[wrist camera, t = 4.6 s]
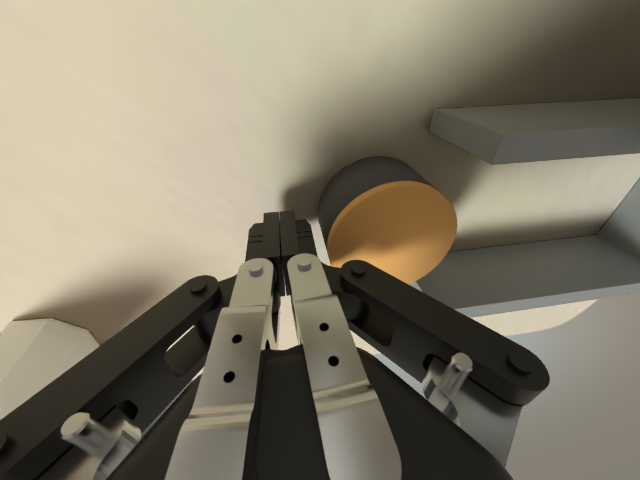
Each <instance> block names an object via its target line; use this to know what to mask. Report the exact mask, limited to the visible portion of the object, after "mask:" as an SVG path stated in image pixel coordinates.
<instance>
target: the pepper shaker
mask: <svg viewBox="0 0 640 480" xmlns="http://www.w3.org/2000/svg"><path fill="white" fill-rule="evenodd" d="M99 346H100V345H99V344H98V342H97V341H96V340H95V339H94V337H93V336H92V335H91V333H90V332H89V331H88V330H87V329H84V328H80V327H77V326H74V325H71V324H68V323H65V322H62V321H58V320H55V319H52V318H47V319H34V320H20V321H12V322H9V323H8V325H7V326H6V327H5V328H4V330H3V331H2V332H1V334H0V420H1V419H2V418H4V417H5V416H6V415H8V414H9V413H10V412H12V411H13V410H14V409H16V408H17V407H19V406H20V405H21V404H23V403H24V402H25V401H27V400H28V399H29V398H31V397H32V396H33V395H35V394H36V393H37V392H39V391H40V390H41V389H43V388H44V387H45V386H47V385H48V384H50V383H51V382H52V381H54V380H55V379H56V378H58V377H59V376H60V375H62V374H63V373H64V372H66V371H67V370H68V369H70V368H71V367H72V366H74V365H75V364H76V363H78V362H79V361H80V360H82V359H83V358H85V357H86V356H87V355H89V354H90V353H91V352H93V351H94V350H95V349H97V348H98V347H99Z"/></svg>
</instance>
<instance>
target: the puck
mask: <svg viewBox="0 0 640 480" xmlns="http://www.w3.org/2000/svg"><path fill="white" fill-rule="evenodd" d="M318 219H319V223H320V227H321V231H322V234H323V238H324V242H325V246H326V249H327V253H328V257H329V260H330V264H331V266H332V267H339V268H341V267H342V265H343V264H344V263H346V262H348V261H350V260H363V261H366V262H368V263H370V264H372V265H374V266H375V267H377V268H379V269H381V270H383V271H385V272H386V273H388V274H390V275H392V276H394V277H396V278H397V279H399V280H401V281H403V282H405V283H407V284H408V285H409V284H411V283H413V282H415V281H417V280H419V279H420V278H422V277H423V276H425V275H426V274H428V273H429V272H430V271H432V270H433V269H434V268H435V267H436V266H437V265H438V264H439V263H440V262H441V261H442V260H443V258H444V257H445V256H446V254H447V253H448V251H449V250H450V248H451V246H452V244H453V242H454V239H455V236H456V231H457V217H456V213H455V210H454V208H453V206H452V205H451V203H450V202H449V200H448V199H447V198H446V197H445V196H443V195H442V194H441V193H440V192H439V191H438V190H436V189H435V188H434V187H433V186H432V185H430V184H429V183H428V182H427V181H426V180H425V179H423V178H422V177H421V176H420V175H419V174H418V173H416V172H415V171H414V170H413V169H412V168H410V167H409V166H408V165H407V164H405V163H404V162H402V161H400V160H398V159H394V158H391V157H384V156H382V157H369V158H365V159H361V160H359V161H356V162H354V163H352V164H350V165H348V166H346V167H345V168H344V169H342V170H341V171H340V172H338V173H337V174H336V175H335V176H334V177H333V178H332V179H331V181H330V182H329V183H328V185H327V186H326V188H325V189H324V191H323V193H322V196H321V199H320V201H319V207H318Z"/></svg>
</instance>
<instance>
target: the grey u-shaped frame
mask: <svg viewBox="0 0 640 480" xmlns="http://www.w3.org/2000/svg"><path fill="white" fill-rule="evenodd" d="M429 132H430V133H432V134H434V135H436V136H438V137H440V138H442V139H444V140H446V141H448V142H449V143H451V144H453V145H455V146H457V147H459V148H461V149H463V150H465V151H467V152H469V153H471V154H472V155H474V156H476V157H478V158H480V159H482V160H484V161H486V162H488V163H490V164H492V165H495V164H508V163H520V162H533V161H545V160H558V159H571V158H583V157H596V156H608V155H621V154H634V153H640V98H631V99H612V100H593V101H574V102H555V103H537V104H518V105H499V106H480V107H461V108H442V109H434V111H433V115H432V120H431V124H430V129H429ZM409 285H410V286H412V287H414V288H416V289H418V290H420V291H421V292H423V293H425V294H427V295H429V296H431V297H432V298H434V299H436V300H438V301H440V302H442V303H443V304H445V305H447V306H449V307H451V308H453V309H454V310H456V311H458V312H460V313H462V314H464V315H465V316H467V317H469V318H471V317H478V316H485V315H492V314H498V313H505V312H512V311H519V310H526V309H533V308H539V307H546V306H553V305H560V304H567V303H573V302H580V301H587V300H594V299H601V298H607V297H614V296H620V295H628V294H635V293H640V179H639V180H638V182H637V183H636V184H635V186H634V187H633V188H632V190H631V191H630V192H629V193H628V195H627V196H626V197H625V199H624V200H623V201H622V203H621V204H620V205H619V207H618V208H617V209H616V210H615V212H614V213H613V214H612V216H611V217H610V218H609V220H608V221H607V222H606V224H605V225H604V226H603V227H602V229H601V230H600V231H599V233H598V234H597V235H591V236H582V237H574V238H565V239H556V240H548V241H539V242H531V243H522V244H513V245H505V246H496V247H488V248H479V249H470V250H462V251H453V252H448V253H447V254H446V256H445V257H444V258H443V260H442V261H441V262H440V263H439V264H438V265H437V266H436V267H435V268H434V269H433V270H432V271H430V272H429V273H428V274H426V275H425V276H423V277H422V278H420V279H419V280H417V281H415V282H413V283H411V284H409Z"/></svg>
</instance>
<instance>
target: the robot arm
mask: <svg viewBox="0 0 640 480" xmlns="http://www.w3.org/2000/svg"><path fill="white" fill-rule="evenodd" d="M284 278H285V281H284ZM285 286H286V294H287V296H288V295H291V304H292V312H293V318H294V323H295V329H296V335H297V341H298V345H297V346H295V347H292V348H290V349H287V350H278V342H279V325H280V304H281V301H280V296H285ZM192 326H194V327H193V328H192V329H191V330H190V331H189V332H188V333H187V334H186V335H184V336H183V337H182V338H181V339H180V340H179V341H178V342H177V343H176V344H175V345H173V346H172V347H171V348H170V349H169V350H168V351H167V349H168V348H169V347H170V346H171V345H172V344H173V343H174V342H175V341H176V340H177V339H178V338H179V337H181V336H182V335H183V334H184V333H185V332H186V331H187V330H188V329H189V328H191V327H192ZM350 330H351V331H353V332H354V333H355V334H357V335H358V336H359V337H361V338H362V339H363V340H365V341H366V342H367V343H369V344H370V345H371V346H373V347H374V348H375V349H377V350H378V351H379V352H381V353H382V354H383V355H385V356H386V357H387V358H389V359H390V360H391V361H393V362H394V363H395V364H397V365H398V366H399V367H401V368H402V369H403V370H404V371H406V372H407V373H409V374H410V375H411V376H412V377H414V378H415V379H416V380H418V381H419V382H420V383H422V389H423V393H424V395H425V397H426V399H427V400H426V399H425V398H424V397H423V396H422V395H420V394H419V393H418V392H417V391H416V390H414V389H413V388H412V387H410V385H408V384H407V383H406V382H405V381H403V380H402V379H401V378H400V377H399V376H397V375H396V374H395V373H394V372H392V371H391V370H390V369H389V368H388V367H386V366H385V365H384V364H383V363H382V362H380V361H379V360H378V359H377V358H375V357H374V356H373V355H371V354H370V353H368V352H367V351H365V350H362V349H360V348H358V347H356V346H355V343H354V340H353V337H352V335H351V332H350ZM166 351H167V352H166ZM203 367H204V369H203V373H202V374H201V375H199V376H198V377H197V378H196V379H195V380H194V381H192V382H191V383H190V384H189V386H188V387H187V388H186V389H185V390H184V391H183V392H182V394H180V396H179V397H178V398H177V399H176V400H175V402H174V403H173V404H172V405H171V406H170V407H169V408H168V409H167V410H166V412H165V413H164V414H163V415H162V416H161V417H160V418H159V419H158V421H157V422H156V423H155V424H154V425H153V426H152V427H151V429H150V430H149V431H148V432H147V433H146V434H145V435H144V436H143V438H142V439H141V433H142V432H143V431H144V430H145V429H146V428H147V427H148V426H149V425H150V424H151V423H152V422H153V421H154V419H155V418H156V417H157V416H158V415H159V414H160V413H161V412H162V411H163V410H164V409H165V407H166V406H168V404H169V403H170V402H171V401H172V400H173V399H174V398H175V397H176V396H177V395H178V394H179V393H180V391H182V389H183V388H184V387H185V386H186V385H187V384H188V383H189V382H190V381H191V380H192V379H193V378H194V377H195V376H196V375H197V373H198V372H199V371H200V370H201V369H202V368H203ZM549 381H550V378H549V374H548V371H547V369H546V367H545V365H544V364H543V363H542V361H541V360H540V359H539V358H538V357H537V356H536V355H534V354H533V353H532V352H531V351H529V350H528V349H526V348H524V347H522V346H521V345H519V344H517V343H515V342H513V341H511V340H510V339H508V338H506V337H504V336H502V335H500V334H499V333H497V332H495V331H493V330H491V329H489V328H488V327H486V326H484V325H482V324H480V323H478V322H476V321H475V320H473V319H471V318H469V317H467V316H465V315H464V314H462V313H460V312H458V311H456V310H454V309H453V308H451V307H449V306H447V305H445V304H443V303H442V302H440V301H438V300H436V299H434V298H432V297H431V296H429V295H427V294H425V293H423V292H421V291H420V290H418V289H416V288H414V287H412V286H410V285H408V284H407V283H405V282H403V281H401V280H399V279H397V278H396V277H394V276H392V275H390V274H388V273H386V272H385V271H383V270H381V269H379V268H377V267H375V266H374V265H372V264H370V263H368V262H366V261H363V260H350V261H348V262H346V263H344V264H343V265H342V267H341V268H339V267H332V266H328V265H326V264H324V263H322V262H321V261H320V259H319V258H318V256H317V252H316V248H315V243H314V239H313V234H312V230H311V225H310V224H309V223H308V222H307V221H306V220H305V219H302V220H295V216H294V211H282V212H280V219H279V212H270V213H264V221H263V223H256V224H254V225H253V226H252V227H251V228H250V230H249V236H248V244H247V251H246V259H245V263H243V264H242V265H241V266H240V268H239V270H238V274H236V275H235V276H233V277H231V278H228V279H225V280H223V281H220V282H218V281H217V279H216V278H214V277H212V276H208V275H203V276H198V277H195V278H192V279H190V280H188V281H187V282H186V283H184V284H183V285H182V286H180V287H179V288H177V289H176V290H175V291H173V292H172V293H171V294H169V295H168V296H167V297H165V298H164V299H163V300H161V301H160V302H159V303H157V304H156V305H155V306H153V307H152V308H151V309H149V310H148V311H146V312H145V313H144V314H142V315H141V316H140V317H138V318H137V319H136V320H134V321H133V322H132V323H130V324H129V325H128V326H126V327H125V328H124V329H122V330H121V331H120V332H118V333H117V334H116V335H114V336H113V337H111V338H110V339H109V340H107V341H106V342H105V343H103V344H102V345H101V346H99V347H98V348H97V349H95V350H94V351H93V352H91V353H90V354H89V355H87V356H86V357H85V358H83V359H82V360H80V361H79V362H78V363H76V364H75V365H74V366H72V367H71V368H70V369H68V370H67V371H66V372H64V373H63V374H62V375H60V376H59V377H58V378H56V379H55V380H54V381H52V382H51V383H50V384H48V385H47V386H45V387H44V388H43V389H41V390H40V391H39V392H37V393H36V394H35V395H33V396H32V397H31V398H29V399H28V400H27V401H25V402H24V403H23V404H21V405H20V406H19V407H17V408H16V409H14V410H13V411H12V412H10V413H9V414H8V415H6V416H5V417H4V418H2V419H1V420H0V480H513V478H512V477H511V476H510V474H509V473H508V472H507V470H506V469H505V466H506V462H507V458H508V455H509V451H510V448H511V444H512V441H513V437H514V434H515V430H516V427H517V423H518V419H519V416H520V412H521V410H522V409H523V408H524V407H525V406H526V405H528V404H529V403H530V402H531V401H532V400H533V399H534V398H535V397H536V396H538V395H539V394H540V393H541V392H542V391H543V390H544V389H545V388H546V387H547V386H548V385H549ZM140 439H141V440H140Z"/></svg>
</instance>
